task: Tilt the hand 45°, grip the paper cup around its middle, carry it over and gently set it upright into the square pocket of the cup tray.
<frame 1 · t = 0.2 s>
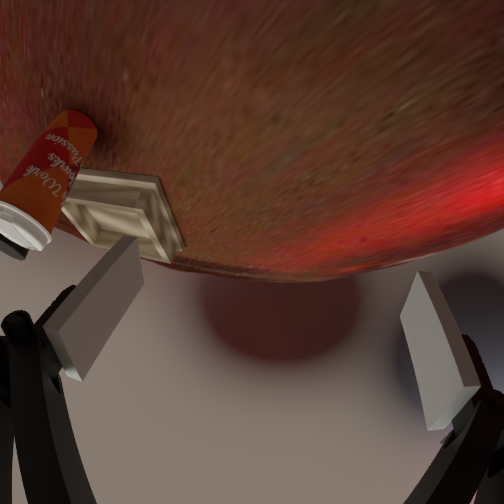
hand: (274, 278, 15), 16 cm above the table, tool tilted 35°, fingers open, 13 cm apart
cup tray: (122, 208, 45), on the table
paper cup: (78, 124, 30), on the table
jar: (37, 184, 44), on the table
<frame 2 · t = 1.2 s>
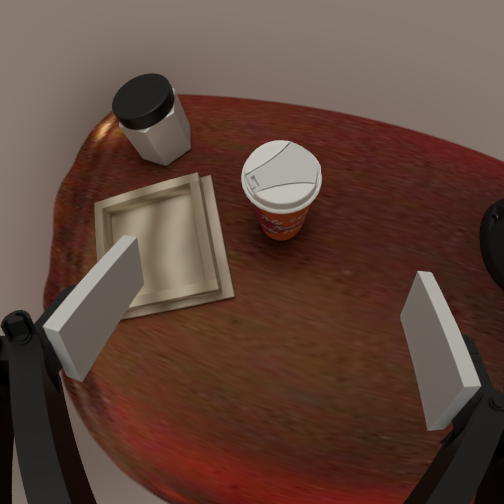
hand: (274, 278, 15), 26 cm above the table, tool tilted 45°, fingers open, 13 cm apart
cup tray: (159, 249, 43), on the table
paper cup: (281, 220, 43), on the table
jar: (167, 143, 48), on the table
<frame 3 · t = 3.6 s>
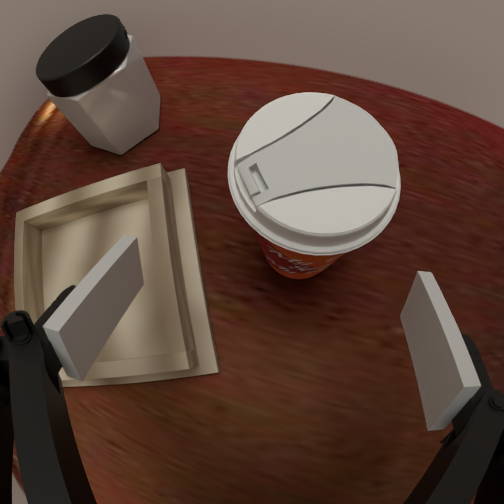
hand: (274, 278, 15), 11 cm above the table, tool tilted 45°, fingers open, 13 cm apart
cup tray: (103, 285, 26), on the table
paper cup: (298, 245, 26), on the table
jar: (126, 122, 30), on the table
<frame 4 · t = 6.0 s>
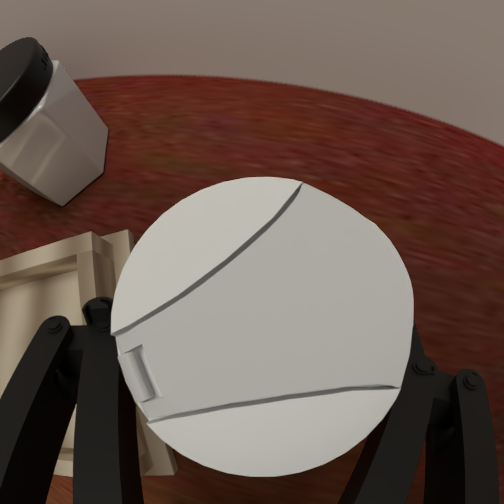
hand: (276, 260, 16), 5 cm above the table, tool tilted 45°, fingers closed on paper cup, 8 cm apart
cup tray: (49, 364, 20), on the table
paper cup: (268, 331, 20), on the table, touching gripper
jar: (70, 162, 25), on the table
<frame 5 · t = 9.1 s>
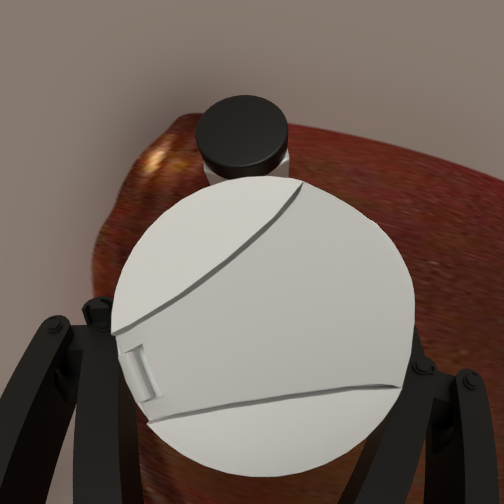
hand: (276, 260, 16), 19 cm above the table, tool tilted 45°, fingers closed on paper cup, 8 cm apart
paper cup: (269, 331, 20), point 14 cm above the table, touching gripper
jar: (251, 187, 38), on the table
when the fingers open (8 cm above the table, at t = 12.3 s): paper cup drops 2 cm, resting on cup tray.
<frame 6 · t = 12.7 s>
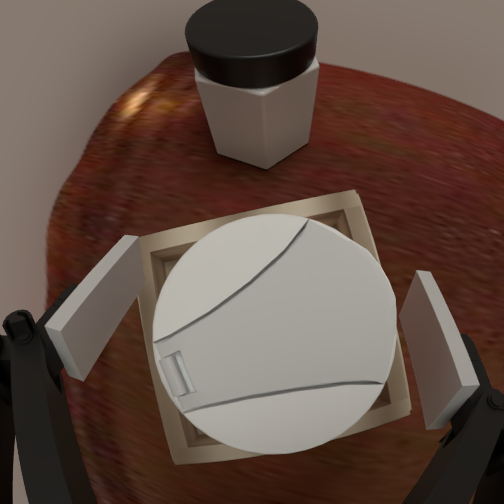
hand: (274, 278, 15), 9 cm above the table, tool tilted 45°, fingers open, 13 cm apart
cup tray: (269, 332, 23), on the table
paper cup: (275, 334, 22), point 1 cm above the table, touching cup tray
jar: (260, 129, 27), on the table
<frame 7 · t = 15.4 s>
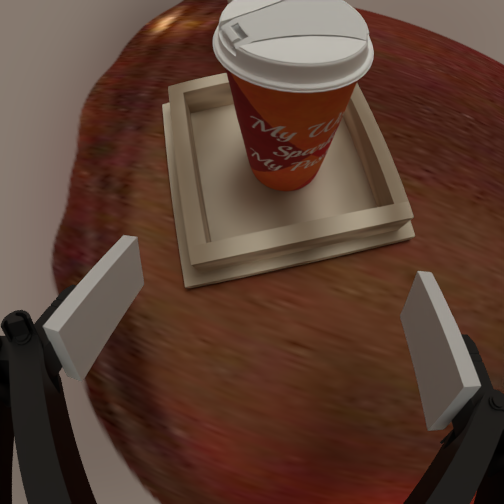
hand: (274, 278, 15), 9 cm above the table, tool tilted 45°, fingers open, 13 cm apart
cup tray: (279, 164, 26), on the table
paper cup: (285, 161, 25), point 1 cm above the table, touching cup tray
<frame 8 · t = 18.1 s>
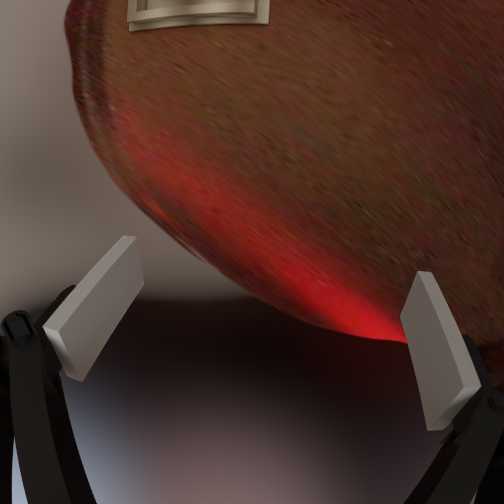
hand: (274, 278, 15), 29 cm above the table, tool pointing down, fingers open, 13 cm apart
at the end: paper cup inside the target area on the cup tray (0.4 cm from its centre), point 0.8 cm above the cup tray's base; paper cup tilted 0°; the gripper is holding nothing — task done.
